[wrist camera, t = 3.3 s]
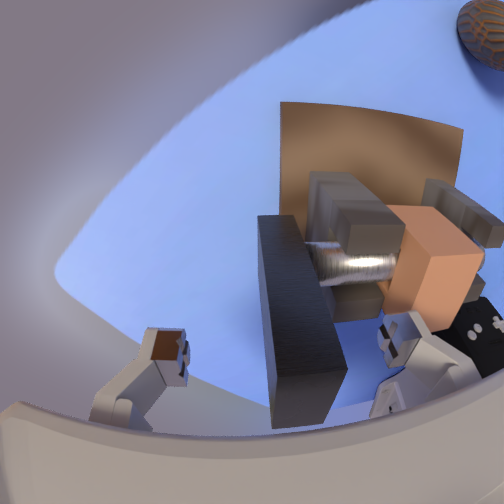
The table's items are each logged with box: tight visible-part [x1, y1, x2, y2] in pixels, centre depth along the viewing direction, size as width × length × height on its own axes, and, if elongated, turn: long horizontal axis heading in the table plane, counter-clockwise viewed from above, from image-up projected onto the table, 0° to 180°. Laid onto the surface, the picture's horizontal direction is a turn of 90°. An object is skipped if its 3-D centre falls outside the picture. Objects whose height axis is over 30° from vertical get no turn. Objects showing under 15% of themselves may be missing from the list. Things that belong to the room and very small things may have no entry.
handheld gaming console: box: [431, 297, 504, 379], centre depth 21 cm, size 12×5×20 cm, turn 84°
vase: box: [457, 0, 504, 72], centre depth 9 cm, size 7×7×9 cm
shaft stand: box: [279, 102, 504, 323], centre depth 18 cm, size 16×16×10 cm
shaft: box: [257, 215, 485, 429], centre depth 12 cm, size 4×15×10 cm, turn 91°
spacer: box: [376, 205, 485, 333], centre depth 14 cm, size 5×4×6 cm
